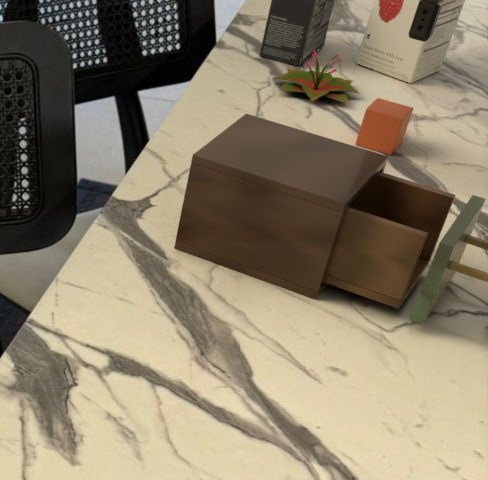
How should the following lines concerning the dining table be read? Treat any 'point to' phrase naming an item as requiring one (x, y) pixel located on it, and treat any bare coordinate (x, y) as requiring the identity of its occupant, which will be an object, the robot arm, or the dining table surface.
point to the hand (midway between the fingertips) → (419, 37)
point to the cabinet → (272, 201)
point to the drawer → (402, 243)
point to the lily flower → (317, 82)
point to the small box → (295, 29)
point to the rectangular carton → (406, 40)
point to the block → (384, 126)
